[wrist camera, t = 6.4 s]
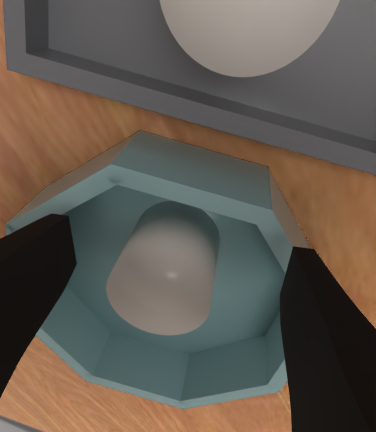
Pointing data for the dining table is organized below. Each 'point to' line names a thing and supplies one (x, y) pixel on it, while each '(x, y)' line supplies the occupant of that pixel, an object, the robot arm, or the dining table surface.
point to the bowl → (223, 284)
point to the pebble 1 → (166, 270)
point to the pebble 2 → (246, 31)
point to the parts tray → (208, 74)
